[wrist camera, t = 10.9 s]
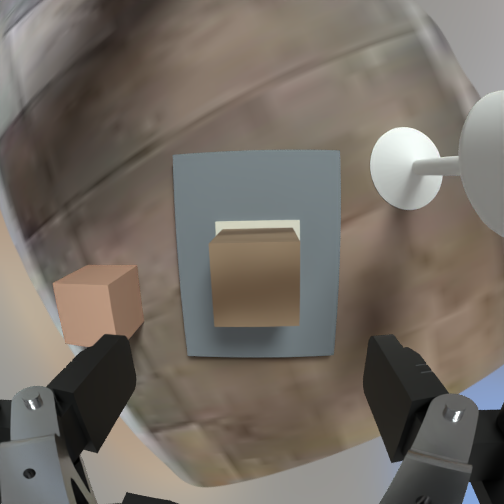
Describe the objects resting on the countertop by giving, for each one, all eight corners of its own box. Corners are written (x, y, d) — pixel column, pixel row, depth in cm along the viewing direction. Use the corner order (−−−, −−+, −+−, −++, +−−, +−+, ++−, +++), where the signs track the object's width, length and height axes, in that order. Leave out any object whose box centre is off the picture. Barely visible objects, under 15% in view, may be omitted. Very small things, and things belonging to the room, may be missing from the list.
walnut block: (222, 229, 23) (208, 243, 18) (292, 227, 23) (299, 241, 18) (225, 295, 24) (214, 326, 19) (293, 294, 24) (299, 325, 19)
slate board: (177, 156, 24) (172, 154, 22) (336, 151, 23) (340, 150, 22) (190, 348, 27) (187, 356, 26) (331, 348, 26) (333, 356, 25)
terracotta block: (87, 264, 26) (52, 283, 21) (137, 265, 26) (107, 285, 20) (96, 317, 27) (65, 343, 22) (144, 320, 27) (119, 350, 22)
